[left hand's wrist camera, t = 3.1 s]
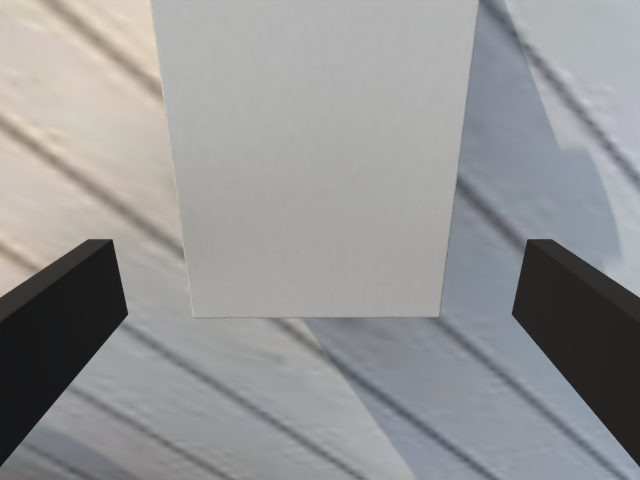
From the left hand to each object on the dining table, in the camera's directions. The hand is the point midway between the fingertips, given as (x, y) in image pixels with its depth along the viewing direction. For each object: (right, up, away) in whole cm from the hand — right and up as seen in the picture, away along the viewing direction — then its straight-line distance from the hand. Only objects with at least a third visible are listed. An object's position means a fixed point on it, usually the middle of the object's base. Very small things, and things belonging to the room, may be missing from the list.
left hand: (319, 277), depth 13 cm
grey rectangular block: (0, +11, +10) cm, 15 cm away
